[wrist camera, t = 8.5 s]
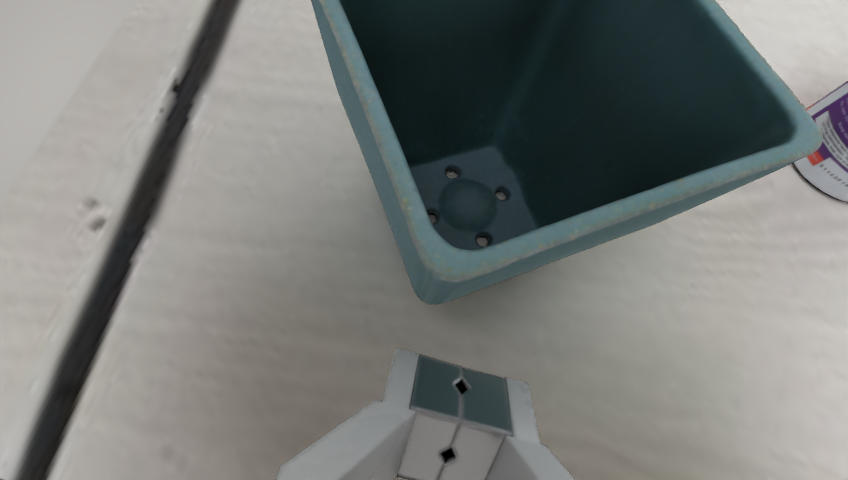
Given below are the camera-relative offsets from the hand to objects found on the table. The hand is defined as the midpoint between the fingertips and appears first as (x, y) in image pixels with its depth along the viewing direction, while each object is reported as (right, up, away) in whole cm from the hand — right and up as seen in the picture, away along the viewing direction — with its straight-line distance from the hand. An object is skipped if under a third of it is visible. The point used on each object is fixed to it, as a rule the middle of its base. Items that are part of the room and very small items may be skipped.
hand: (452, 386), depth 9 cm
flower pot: (+1, +4, +8) cm, 9 cm away
